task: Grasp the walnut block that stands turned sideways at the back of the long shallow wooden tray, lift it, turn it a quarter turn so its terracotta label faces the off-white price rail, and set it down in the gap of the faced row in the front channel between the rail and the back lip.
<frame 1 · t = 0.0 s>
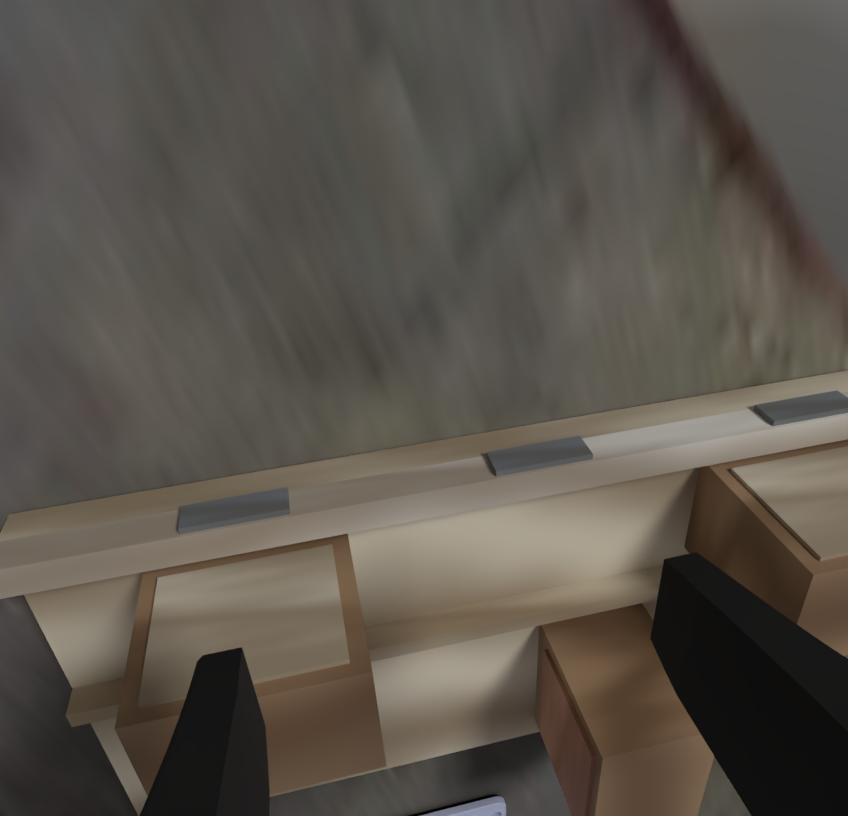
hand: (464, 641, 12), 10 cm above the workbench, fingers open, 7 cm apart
long shallow wooden tray: (478, 598, 26), on the workbench
turned block: (584, 661, 28), point 1 cm above the workbench, touching long shallow wooden tray
faced block b: (769, 489, 25), point 1 cm above the workbench, touching long shallow wooden tray
faced block a: (259, 589, 22), point 1 cm above the workbench, touching long shallow wooden tray
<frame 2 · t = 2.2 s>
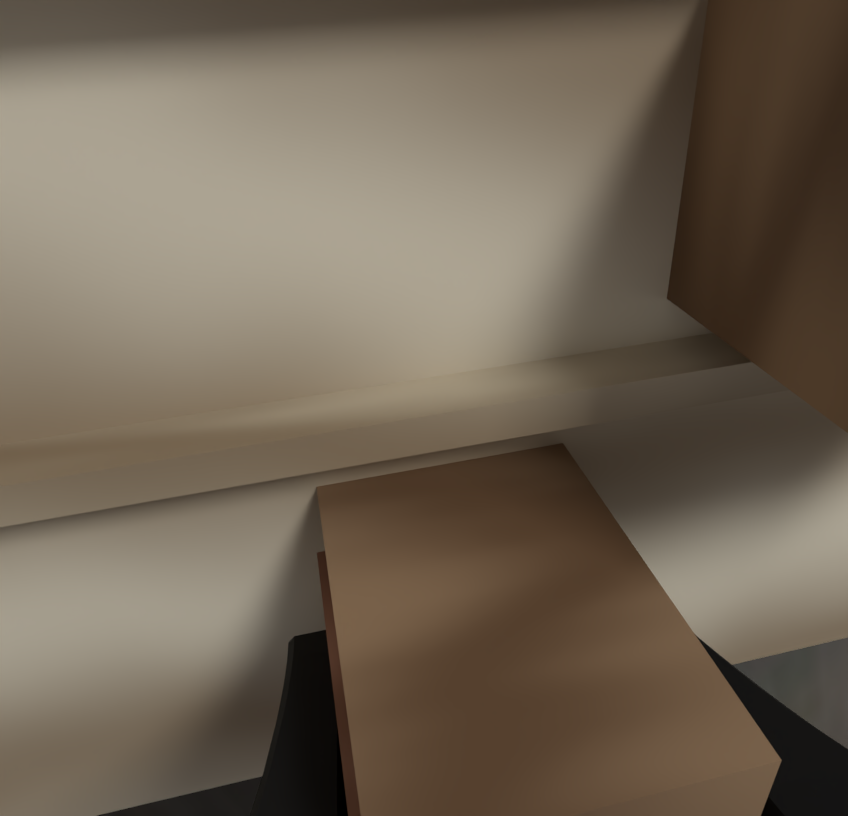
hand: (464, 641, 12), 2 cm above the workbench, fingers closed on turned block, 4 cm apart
long shallow wooden tray: (180, 438, 11), on the workbench
turned block: (450, 597, 12), point 1 cm above the workbench, touching gripper, long shallow wooden tray
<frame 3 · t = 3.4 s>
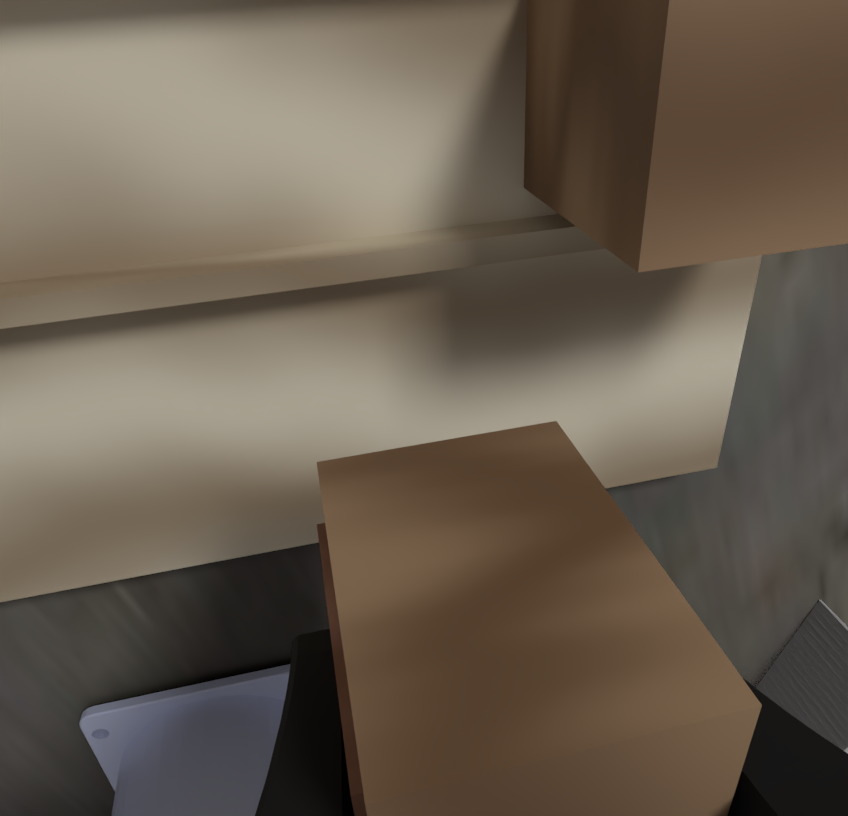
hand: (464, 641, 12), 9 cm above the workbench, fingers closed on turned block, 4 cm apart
long shallow wooden tray: (204, 287, 16), on the workbench
turned block: (447, 574, 13), point 7 cm above the workbench, touching gripper
faced block b: (657, 78, 15), point 1 cm above the workbench, touching long shallow wooden tray
ramp: (823, 746, 37), on the workbench
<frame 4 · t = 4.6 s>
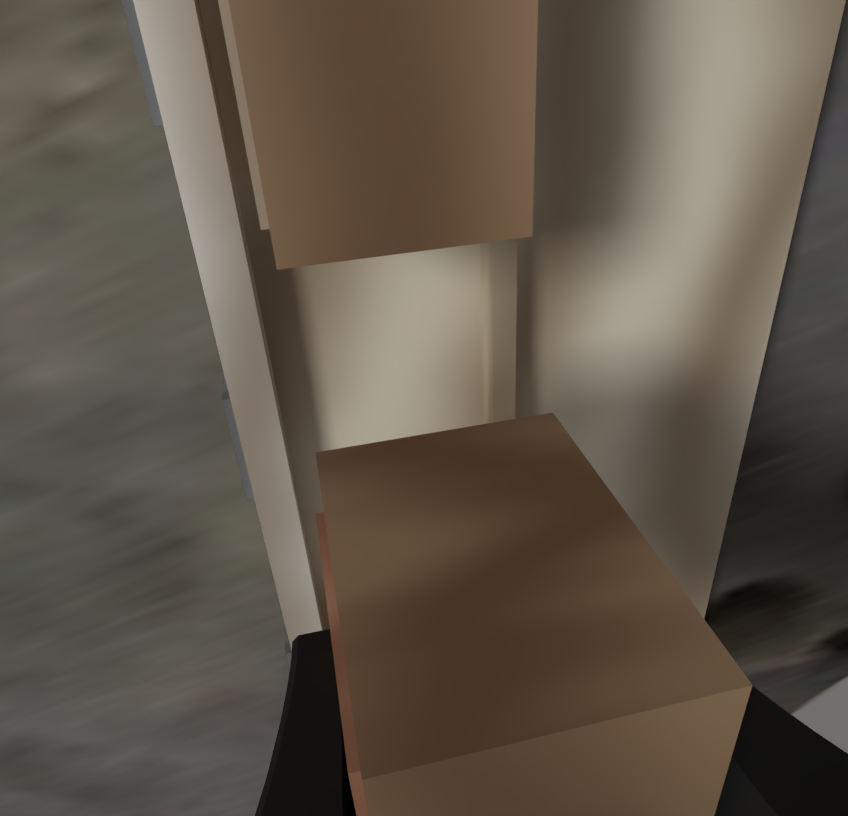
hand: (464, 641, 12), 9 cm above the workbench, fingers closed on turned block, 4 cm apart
long shallow wooden tray: (507, 406, 21), on the workbench
turned block: (445, 566, 13), point 8 cm above the workbench, touching gripper
faced block b: (344, 16, 14), point 1 cm above the workbench, touching long shallow wooden tray
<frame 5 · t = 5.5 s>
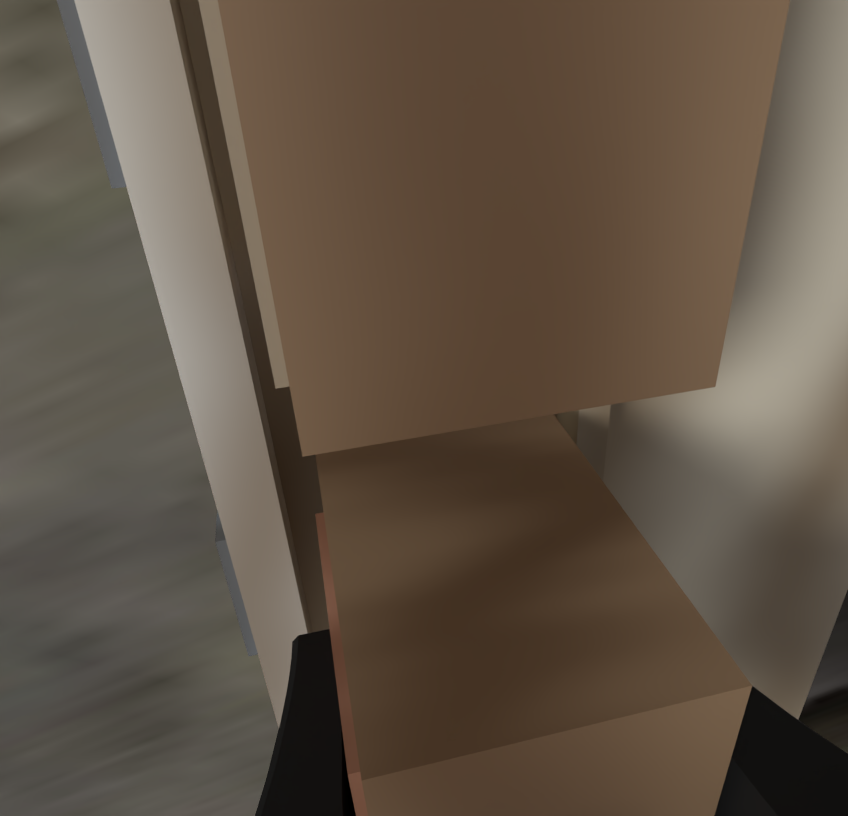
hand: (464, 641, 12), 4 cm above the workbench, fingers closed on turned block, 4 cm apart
long shallow wooden tray: (574, 510, 17), on the workbench
turned block: (444, 566, 13), point 3 cm above the workbench, touching gripper
faced block b: (391, 25, 9), point 1 cm above the workbench, touching long shallow wooden tray
when the fingers open (3 cm above the workbench, at t = 6.5 s): turned block stays where it is, resting on long shallow wooden tray.
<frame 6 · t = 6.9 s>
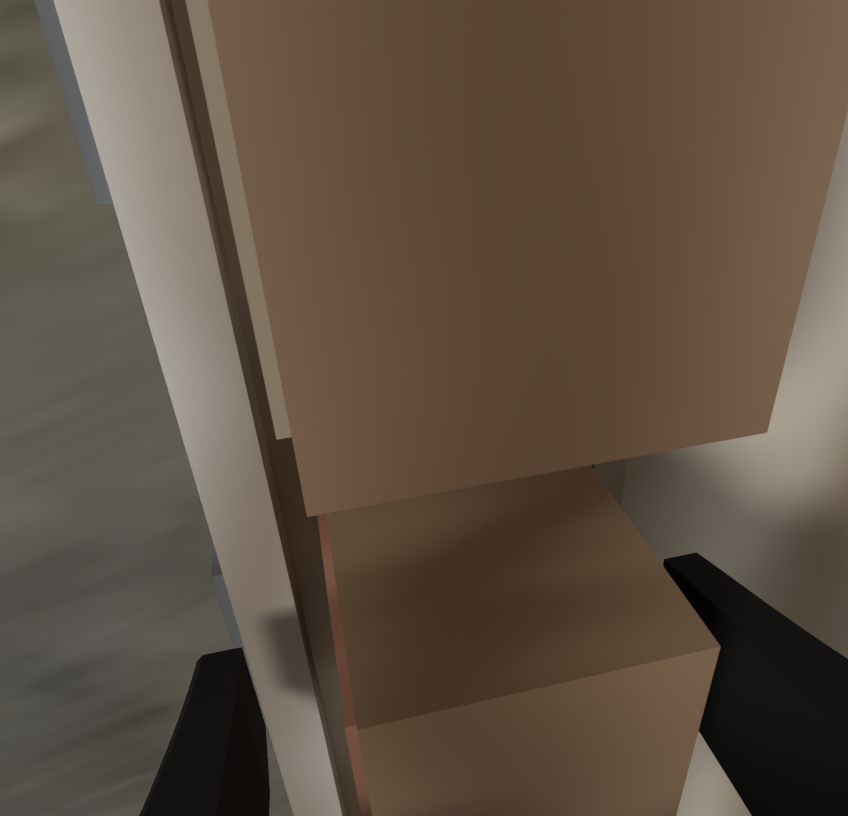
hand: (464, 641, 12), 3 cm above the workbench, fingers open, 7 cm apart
long shallow wooden tray: (587, 532, 16), on the workbench
turned block: (438, 544, 13), point 1 cm above the workbench, touching long shallow wooden tray
faced block b: (400, 27, 9), point 1 cm above the workbench, touching long shallow wooden tray
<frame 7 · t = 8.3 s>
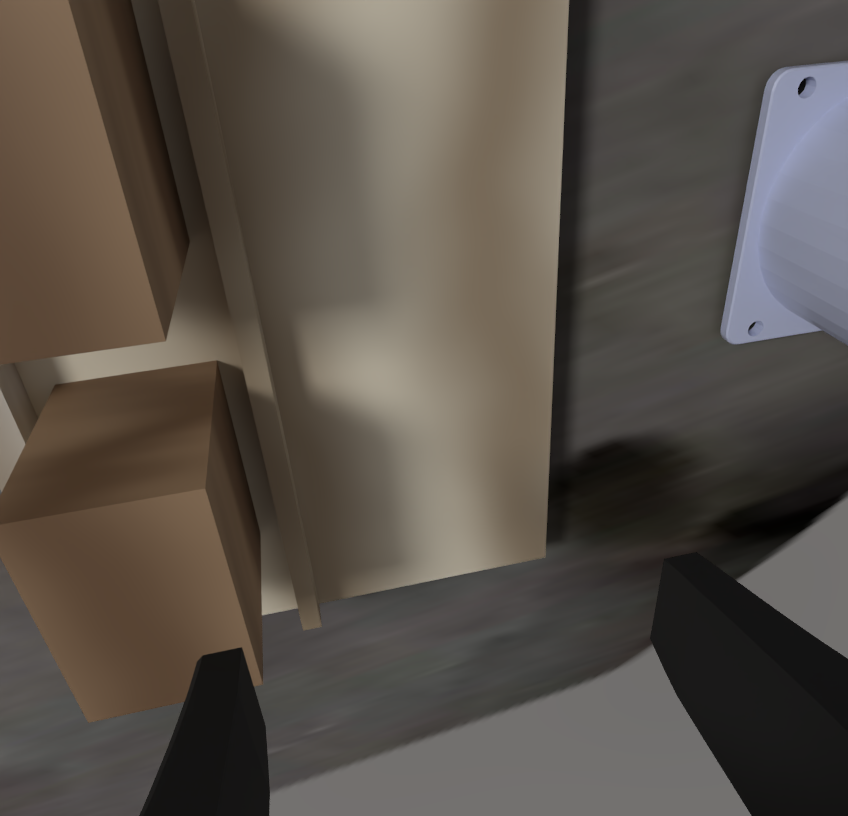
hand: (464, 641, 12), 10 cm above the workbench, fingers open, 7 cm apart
long shallow wooden tray: (253, 163, 17), on the workbench
turned block: (57, 113, 14), point 1 cm above the workbench, touching long shallow wooden tray
faced block a: (167, 466, 19), point 1 cm above the workbench, touching long shallow wooden tray
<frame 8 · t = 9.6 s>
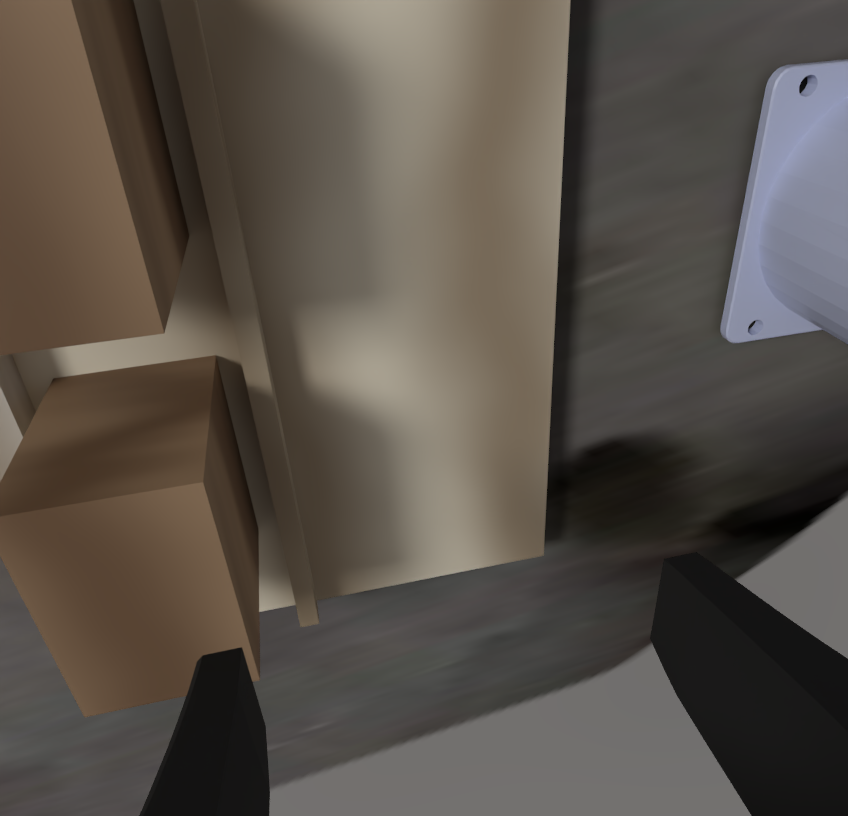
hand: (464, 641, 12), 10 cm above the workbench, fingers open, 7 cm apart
long shallow wooden tray: (253, 158, 17), on the workbench
turned block: (57, 105, 14), point 1 cm above the workbench, touching long shallow wooden tray
faced block a: (165, 461, 19), point 1 cm above the workbench, touching long shallow wooden tray
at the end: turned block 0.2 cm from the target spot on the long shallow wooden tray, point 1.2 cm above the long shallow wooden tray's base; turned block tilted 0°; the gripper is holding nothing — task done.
